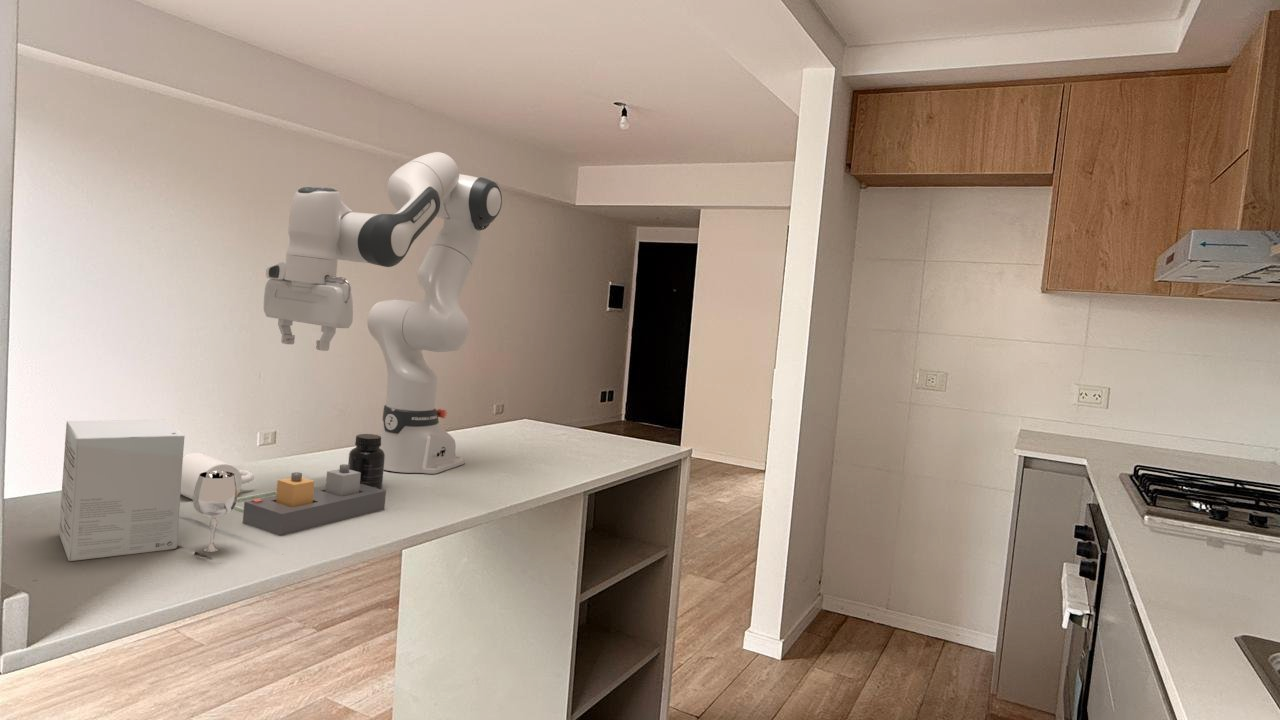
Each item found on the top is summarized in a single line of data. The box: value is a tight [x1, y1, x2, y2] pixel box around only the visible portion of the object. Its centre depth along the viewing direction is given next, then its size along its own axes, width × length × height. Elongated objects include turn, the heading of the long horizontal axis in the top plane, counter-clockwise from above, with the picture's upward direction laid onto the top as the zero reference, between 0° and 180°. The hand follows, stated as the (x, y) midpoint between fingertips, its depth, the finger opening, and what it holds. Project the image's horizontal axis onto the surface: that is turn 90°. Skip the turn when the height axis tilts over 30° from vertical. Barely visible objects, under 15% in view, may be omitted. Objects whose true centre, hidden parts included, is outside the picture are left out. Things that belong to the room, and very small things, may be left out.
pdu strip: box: [242, 484, 387, 537], centre depth 132 cm, size 22×9×5 cm, turn 154°
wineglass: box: [192, 471, 238, 559], centre depth 113 cm, size 6×6×12 cm
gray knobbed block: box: [325, 463, 361, 497], centre depth 136 cm, size 4×4×8 cm
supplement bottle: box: [347, 433, 385, 490], centre depth 152 cm, size 7×7×12 cm
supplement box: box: [58, 418, 186, 562], centre depth 113 cm, size 13×13×18 cm
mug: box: [180, 452, 255, 501], centre depth 139 cm, size 12×10×8 cm
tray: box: [232, 490, 277, 513], centre depth 135 cm, size 11×9×2 cm
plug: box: [275, 471, 315, 507], centre depth 127 cm, size 4×4×8 cm
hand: (304, 347), depth 143 cm, fingers open, 8 cm apart
